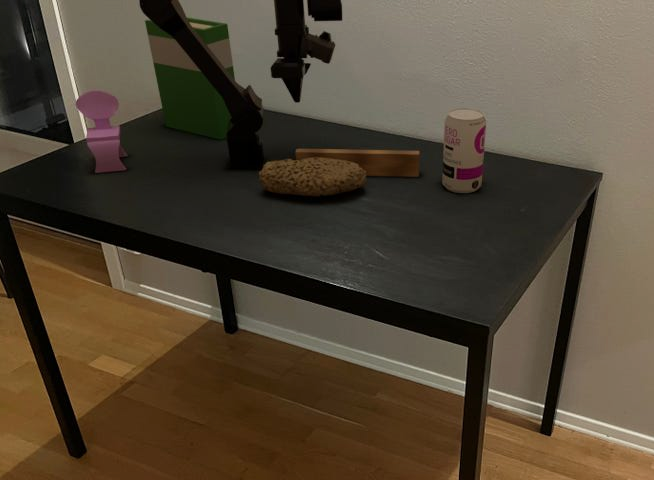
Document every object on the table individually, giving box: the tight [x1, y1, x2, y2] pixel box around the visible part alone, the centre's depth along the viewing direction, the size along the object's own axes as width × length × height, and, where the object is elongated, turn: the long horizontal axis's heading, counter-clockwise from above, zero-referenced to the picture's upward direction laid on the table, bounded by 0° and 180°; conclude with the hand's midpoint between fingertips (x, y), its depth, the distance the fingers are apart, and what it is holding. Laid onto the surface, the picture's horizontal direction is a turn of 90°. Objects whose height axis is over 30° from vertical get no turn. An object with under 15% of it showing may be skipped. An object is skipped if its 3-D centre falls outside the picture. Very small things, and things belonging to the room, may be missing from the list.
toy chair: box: [75, 89, 128, 174], centre depth 150 cm, size 8×9×15 cm
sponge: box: [258, 157, 368, 197], centre depth 143 cm, size 13×8×20 cm
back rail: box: [294, 148, 420, 178], centre depth 151 cm, size 26×2×5 cm, turn 89°
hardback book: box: [144, 16, 236, 140], centre depth 166 cm, size 18×7×24 cm, turn 61°
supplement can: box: [441, 107, 487, 194], centre depth 143 cm, size 8×8×15 cm
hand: (297, 102), depth 150 cm, fingers closed
